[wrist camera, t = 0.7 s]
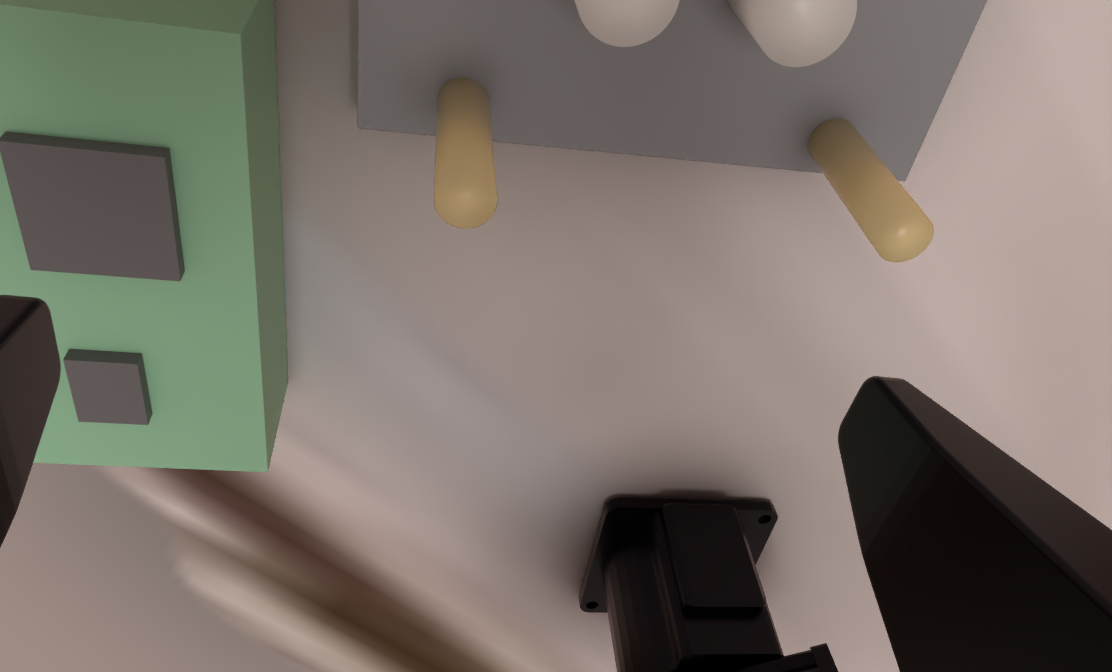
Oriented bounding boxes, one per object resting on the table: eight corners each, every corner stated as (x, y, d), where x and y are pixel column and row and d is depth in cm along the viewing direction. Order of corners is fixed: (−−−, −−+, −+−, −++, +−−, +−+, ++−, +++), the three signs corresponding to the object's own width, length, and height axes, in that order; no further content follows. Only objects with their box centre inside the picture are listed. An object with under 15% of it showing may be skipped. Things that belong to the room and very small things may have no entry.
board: (289, 374, 26) (265, 483, 23) (78, 361, 25) (20, 474, 22) (275, -31, 19) (236, 42, 16) (-23, -72, 18) (-134, -4, 15)
